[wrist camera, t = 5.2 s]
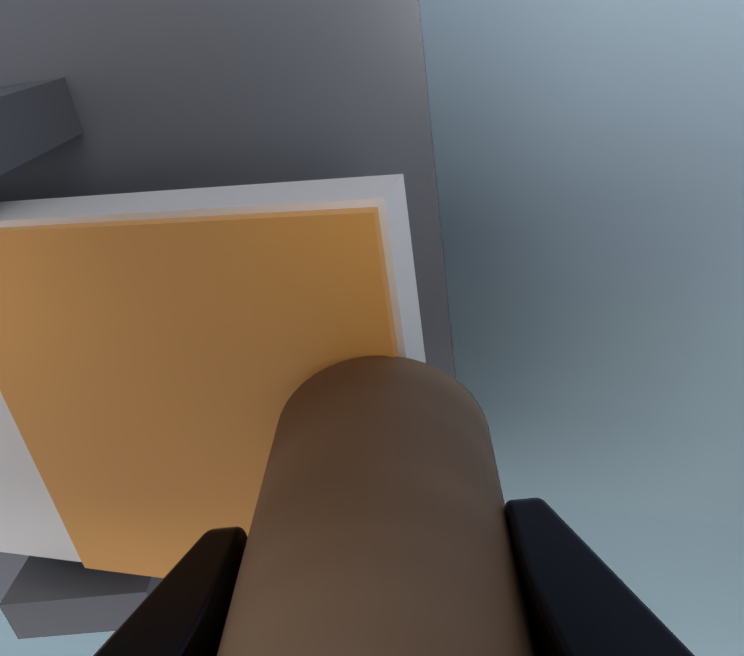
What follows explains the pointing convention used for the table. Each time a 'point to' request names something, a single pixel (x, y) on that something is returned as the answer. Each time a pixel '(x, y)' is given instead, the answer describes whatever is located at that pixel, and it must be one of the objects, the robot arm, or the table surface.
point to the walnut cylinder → (379, 525)
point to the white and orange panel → (179, 351)
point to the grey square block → (207, 156)
